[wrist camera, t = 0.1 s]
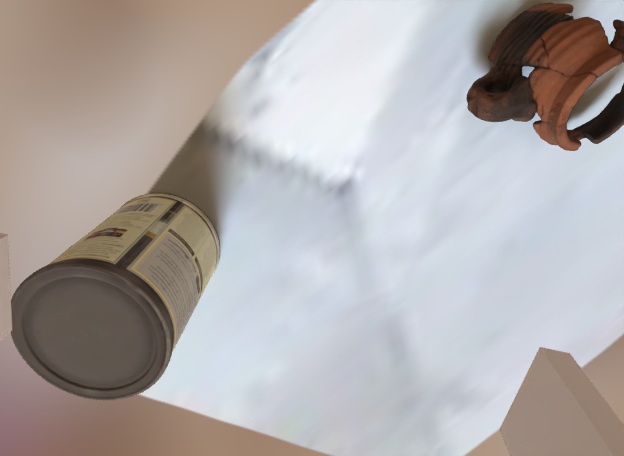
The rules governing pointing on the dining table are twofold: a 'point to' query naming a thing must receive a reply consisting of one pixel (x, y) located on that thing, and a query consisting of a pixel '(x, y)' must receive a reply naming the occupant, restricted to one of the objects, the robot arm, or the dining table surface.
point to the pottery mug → (550, 74)
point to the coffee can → (117, 299)
